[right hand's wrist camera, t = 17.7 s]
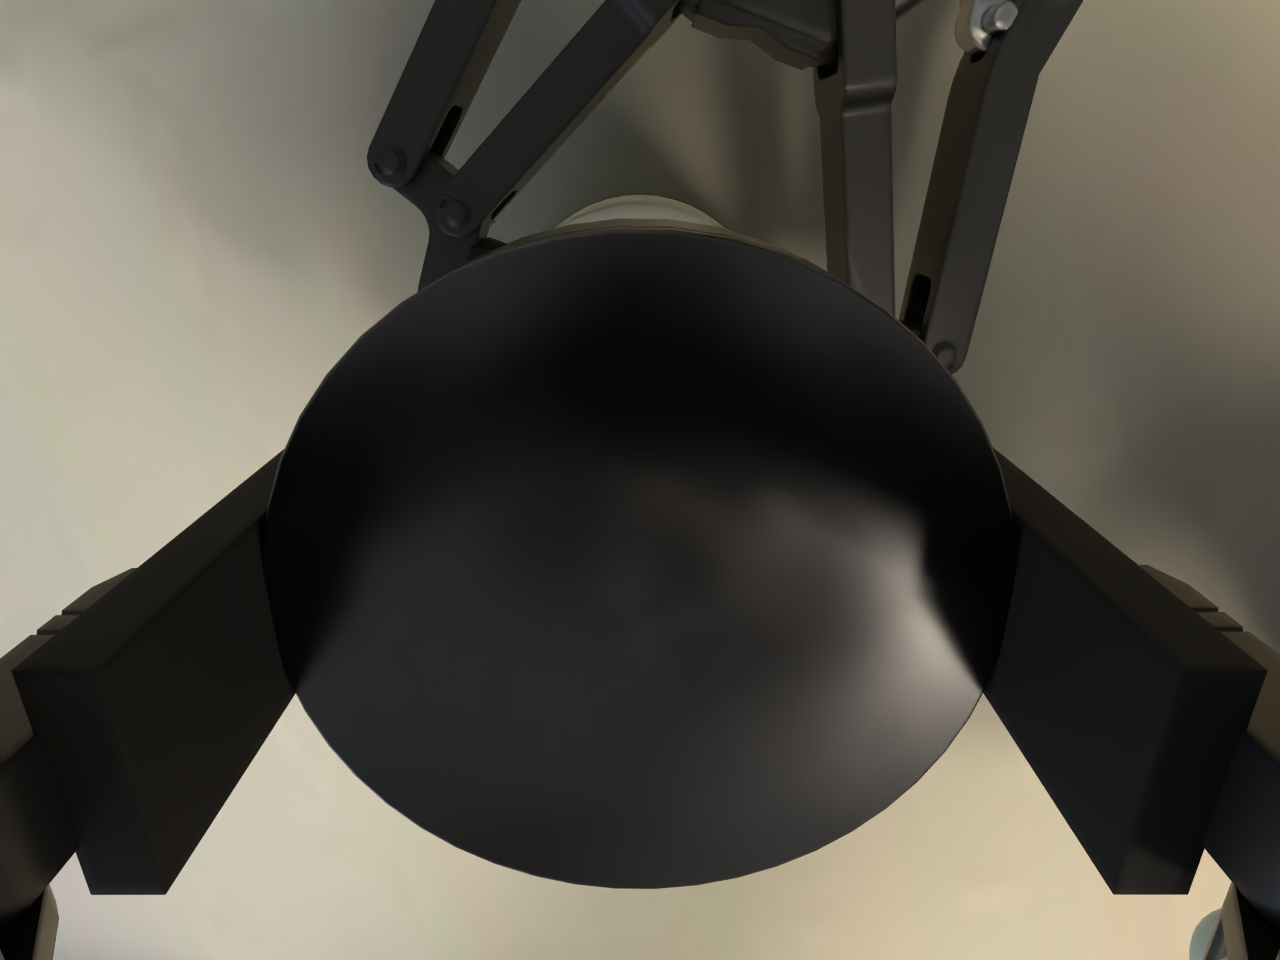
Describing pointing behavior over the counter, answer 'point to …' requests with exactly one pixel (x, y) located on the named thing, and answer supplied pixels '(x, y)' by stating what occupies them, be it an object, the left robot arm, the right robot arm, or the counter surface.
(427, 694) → the lid
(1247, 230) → the counter surface
